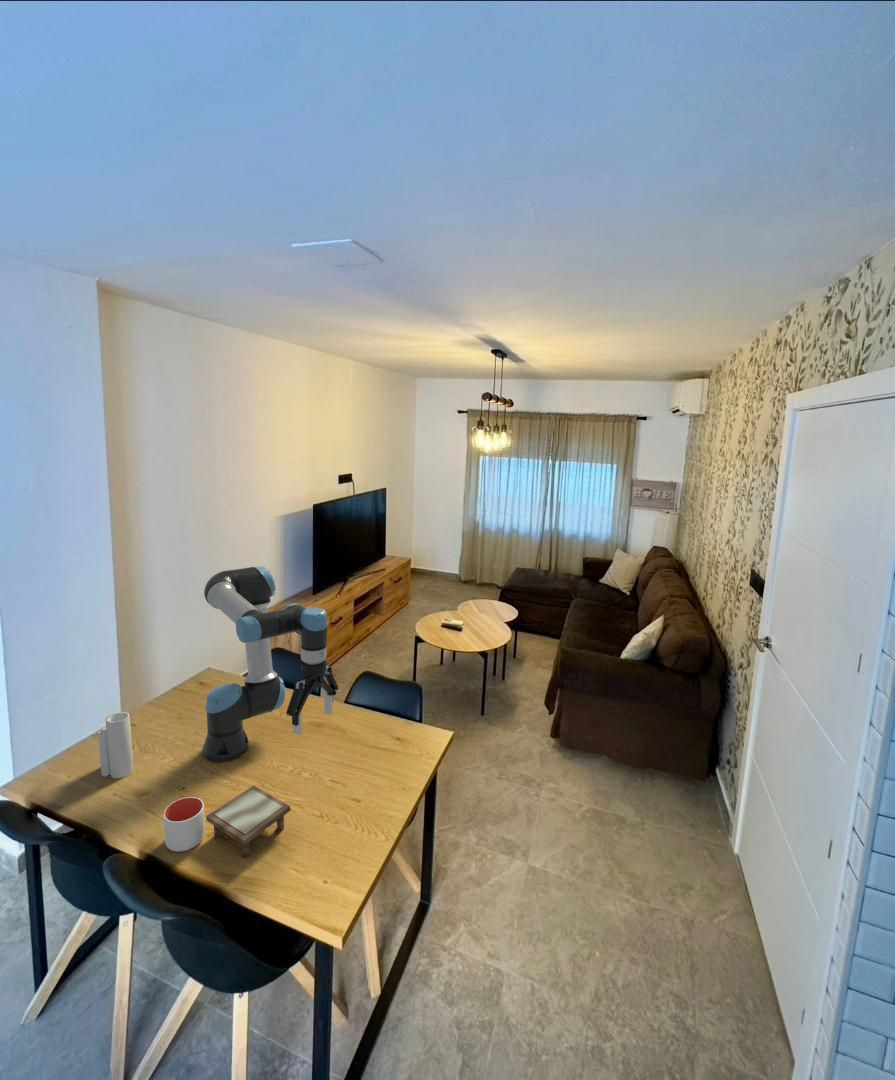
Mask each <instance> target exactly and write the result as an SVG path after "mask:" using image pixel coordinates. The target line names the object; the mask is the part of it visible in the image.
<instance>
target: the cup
mask: <svg viewBox="0 0 895 1080" xmlns="http://www.w3.org/2000/svg"><path fill="white" fill-rule="evenodd" d="M205 822H206V820H205V804H204V802H203V799H200V798H199V797H194V796H191V797H189V796H188V797H183V798H180V799H177V800H175V801H173V802H171V803H170V804H169V805H168V806H167V807H166V808H165V809H164V811H163V829H164V843H165V845H166V848H167V849H169V850H170V851H173V852H178V853H179V852H185V851H189V850H192V849H194V848H195V847H196V846H198V845H199V844H200V843H201V842H202V841H203V839H204V837H205V834H206V828H205V827H206V824H205Z"/></svg>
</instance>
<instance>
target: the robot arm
mask: <svg viewBox="0 0 895 1080" xmlns="http://www.w3.org/2000/svg"><path fill="white" fill-rule="evenodd" d="M203 594H204V595H203V596H204V599H205V601H206V602H207V604H208V605H210V606H211V607H212V608H213V609H217V610H220V611H221V612H222V613H223V614H225V616H226V617H228V619H229V620H230V621H232V622H233V623H234V624H235V632H236V635H237V637H238V641H240V642H241V643H243V644H245V654H246V656H245V657H246V664H247V675H246V677H245V678H244V680H243V681H244V685H243V686H241V685H240V684H239V683H235V682H234V683H224V684H221V685H218V686H217V687H215V688H213V689H212V690H210V692H209V693H208V694H207V696H206V703H205V710H206V722H207V723H206V725H207V726H206V727H207V734H206V737H205V740H204V743H203V746H202V756H203V758H204V759H205V760H207V761H209V762H211V763H228V762H231V761H234V760H237V759H238V758H241V757H242V756H244V755H245V754H246V753H247V752H248V750H249V747H250V746H249V744H250V742H249V737H248V735H247V734H246V730H245V729H244V726H243V725H244V723H243V721H244V720H248V719H251V718H254V717H257V716H261V715H265V714H266V713H267V714H269V713H271V712H273V711H275V710H279V709H280V708H281V707H282V706H283V705H284V702H285V699H286V686H285V683H284V680H283V678H282V677H280V676H279V675H278V673H277V672H275V670H274V669H273V661H272V659H273V658H272V648H271V640H270V639H271V638H275V637H278V636H279V637H280V636H285V635H288V634H294V633H296V634H297V635H298V636H300V660H301V661H300V672H301V674H302V680H299V681H298V680H295V681H294V684H293V685H294V686H293V691H292V694H291V697H290V700H289V702H288V705H287V709H286V712H285V714H286V715H288V716H290V717H291V724H292V726H293V727H292V732H293V733H294V734H296V735H299V736H301V735H303V731H302V730H303V728H302V726H303V725H302V724H303V723H302V722H303V718H302V717H303V716H302V714H301V713H302V710H303V708H304V707H305V706H304V705H305V704H306V702H307V700H308V697H309V696H310V695H311V694H312V693H313V691H315V690H316V689H317V688H320V687H321V688H322V689H323V690H324V692H325V693H324V698H323V699H324V703H323V704H324V706H323V707H324V709H323V711H324V712H323V713H324V714H327V715H330V716H331V715H333V703H334V696H336V695H337V691H338V690H339V686H338V683H337V681H336V679H335V676H334V674H333V667H330V666H327V665H328V663H327V662H328V660H327V654H328V653H327V648H328V647H327V645H328V625H329V624H328V615H327V611H326V610H325V609H323V608H319V607H309V608H306V607H305V606H303V605H300V604H298V603H295V602H294V603H289V604H287V605H286V606H285V607H283V608H282V609H280V610H273V611H268V606H269V605H270V603H271V598H272V597H273V596H275V594H276V582H275V579H274V577H273V574H272V573H271V571H270V569H268V568H267V567H265V566H251V567H243V568H237V569H236V568H235V569H229V570H223V571H220V572H217V573H215V574H214V575H212V576H211V577H210V578H209V580H208V581H207V582H206V584H205V587H204V589H203Z"/></svg>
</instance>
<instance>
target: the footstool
mask: <svg viewBox="0 0 895 1080" xmlns="http://www.w3.org/2000/svg"><path fill="white" fill-rule="evenodd" d="M290 812H291V805H289V804H288V803H286V802H284V801H282V800H280V799H278V798H277V797H275V796H273V795H271V794H270V793H269V792H266V791H264V790H262V789H261V788H259V787H257V786H256V785H251V786H250V787H249V788H247V789H246V790H244V791H242V792H241V793H239V794H238V795H236V796H234V797H233V798H232V799H230V800H229V801H227V802H226V803H224V804H222V805H220V807H218V808H216V809H215V810H212V811H211V812H210V813H208V814H207V815H206V821H207V822H208V823H210V824H211V825H213V838H214V839H217V840H218V839H220V838H221V837H222V836H223V833H225V834H226V835H228V836H229V837H231V838H232V839H234V840H235V841H236V842H238V843H240V844H241V857H242V858H243V859H247V858H249V857H250V855H251V850H250V849H251V848H250V847H251V846H250V841H252V840H253V839H255V838H256V837H257V836H259V835H260V834H261V833H263V832H264V831H265V830H266V829H268V828H270V826H272V825H273V824H275V823H276V830H277V831H278V832H280V831H283V830H284V829H285V815H286V814H288V813H290Z"/></svg>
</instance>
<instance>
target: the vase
mask: <svg viewBox="0 0 895 1080" xmlns="http://www.w3.org/2000/svg"><path fill="white" fill-rule="evenodd" d="M130 717H131V716H130V713H129V712H127V711H120V712H114V713H113V714H110V715H109V716H107V717H106V718H105V726H103V727H102V728H101V729H100V730H98V731H97V737H98V738H97V739H98V749H99V750H98V751H99V758H100V759H99V761H100V772H101V776H102V777H109V776H110V775H111V776H110V778H112V777H113V778H112V779H115V778H119V779H123V778H126V777H128V776H129V774H130V775H131V774H132V773H133V772H134V770H133V769H134V758H133V744H132V730H131V719H130ZM132 771H133V772H132ZM108 775H109V776H108Z"/></svg>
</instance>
